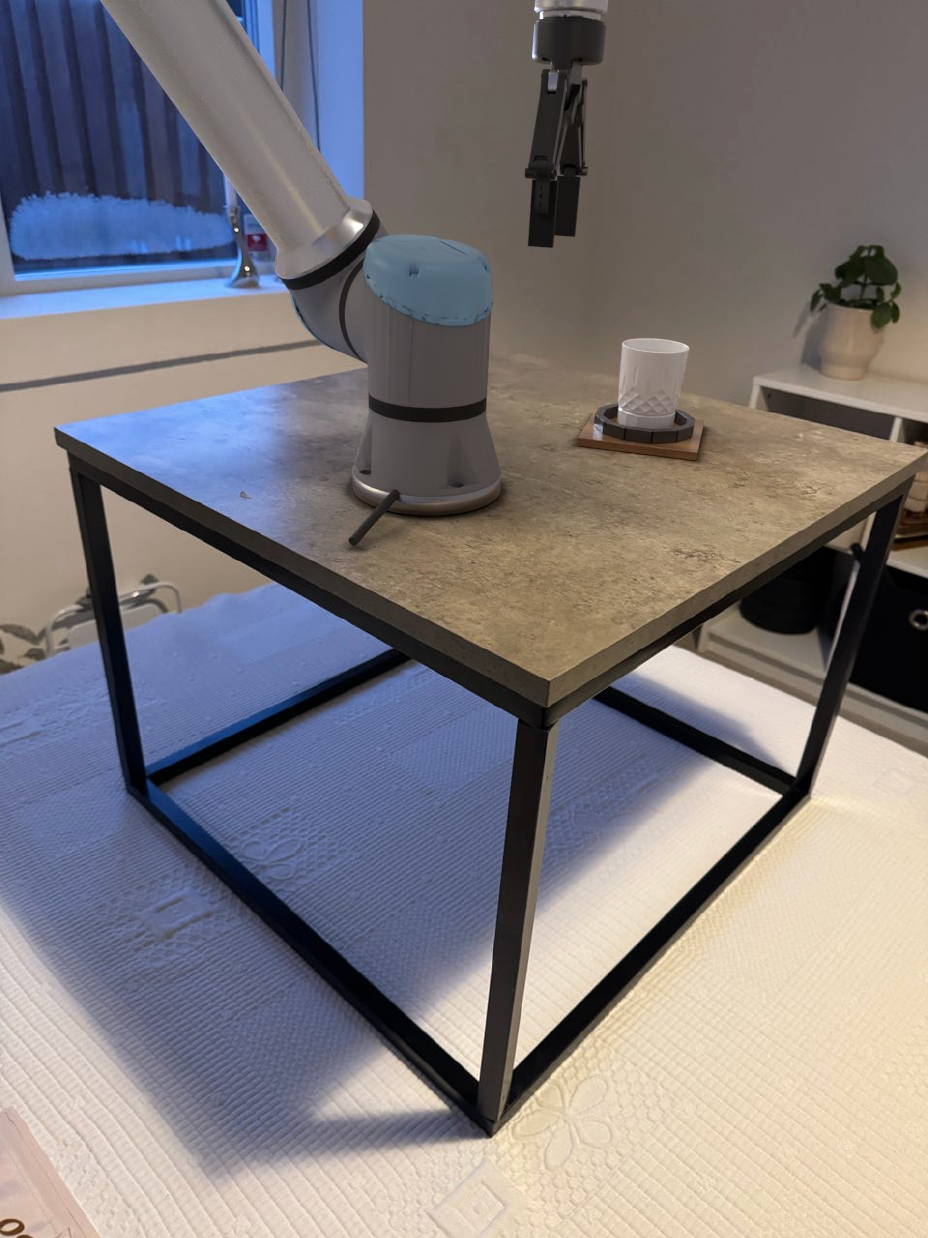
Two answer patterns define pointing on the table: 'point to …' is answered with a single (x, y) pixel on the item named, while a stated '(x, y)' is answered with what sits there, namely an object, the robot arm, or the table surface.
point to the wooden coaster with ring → (643, 435)
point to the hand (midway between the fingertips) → (552, 241)
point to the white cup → (650, 382)
